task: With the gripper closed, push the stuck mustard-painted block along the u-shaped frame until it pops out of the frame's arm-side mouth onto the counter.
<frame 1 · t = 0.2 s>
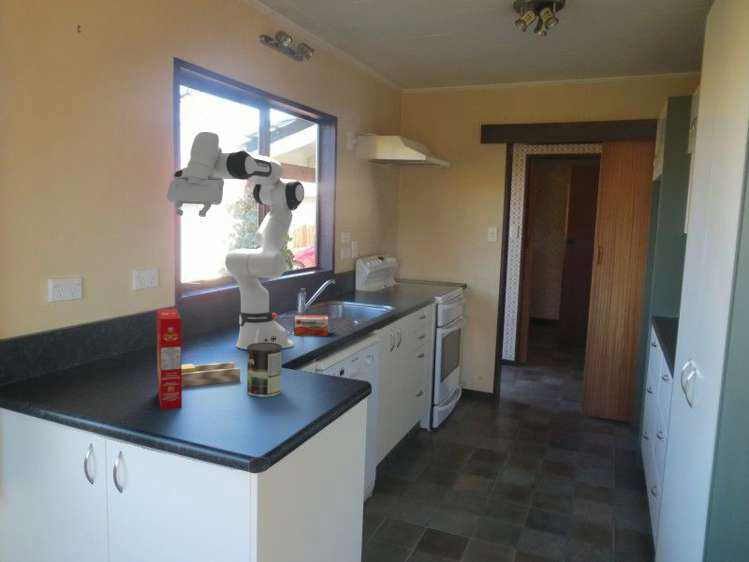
hand: (190, 215, 188), 52 cm above the worktop, tool tilted 20°, fingers open, 8 cm apart
block: (185, 374, 179), point 3 cm above the worktop, slide at 0.0 cm
coffee can: (264, 392, 172), on the worktop
medicine box: (311, 334, 256), on the worktop
u-shaped frame: (205, 380, 182), on the worktop
food packaging: (169, 401, 162), on the worktop
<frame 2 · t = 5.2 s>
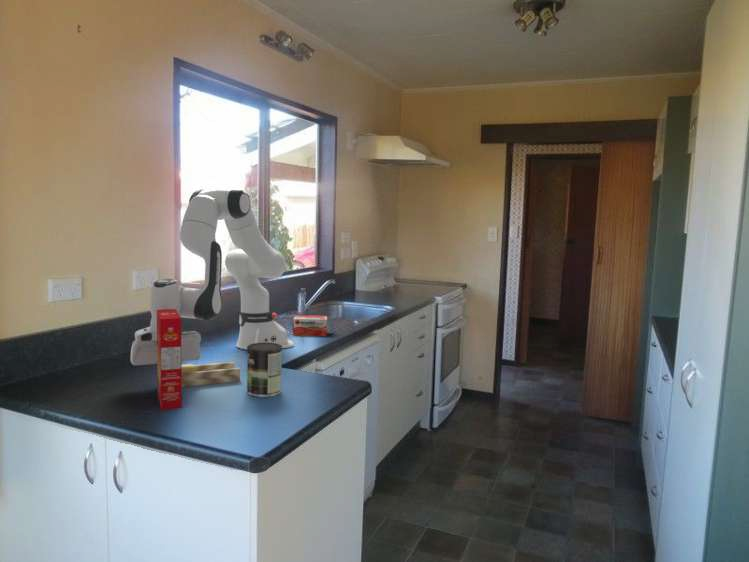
hand: (166, 376, 176), 3 cm above the worktop, tool pointing down, fingers closed
nothing on the worktop moved.
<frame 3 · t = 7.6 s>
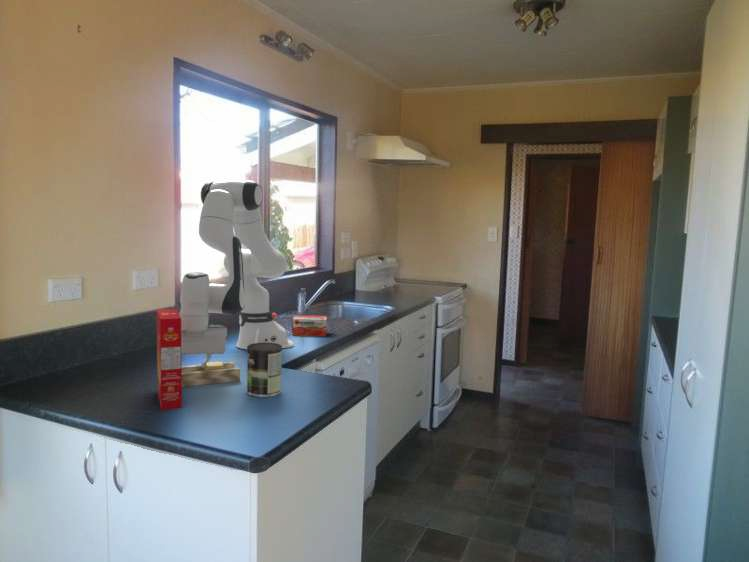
hand: (191, 368, 179), 5 cm above the worktop, tool pointing down, fingers open, 6 cm apart
block: (213, 371, 183), point 3 cm above the worktop, slide at 8.8 cm, touching gripper
everything else where it was.
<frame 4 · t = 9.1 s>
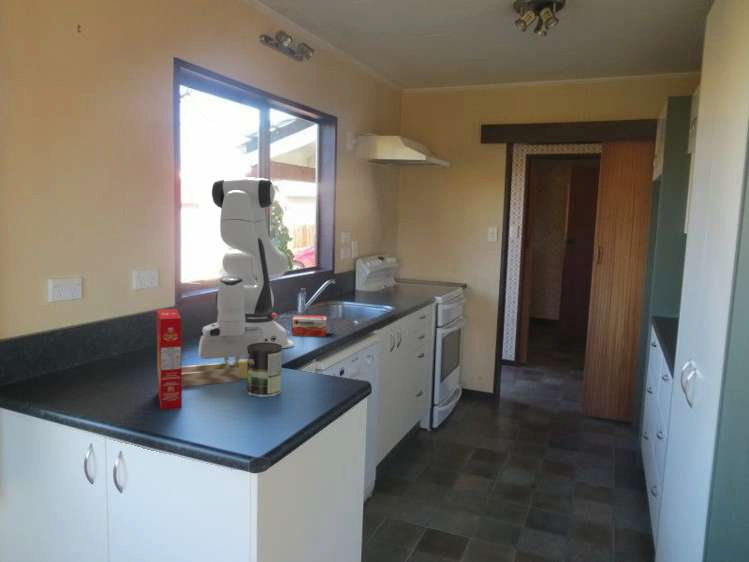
hand: (231, 369, 185), 3 cm above the worktop, tool pointing down, fingers closed
block: (244, 368, 187), point 3 cm above the worktop, slide at 18.6 cm, touching gripper
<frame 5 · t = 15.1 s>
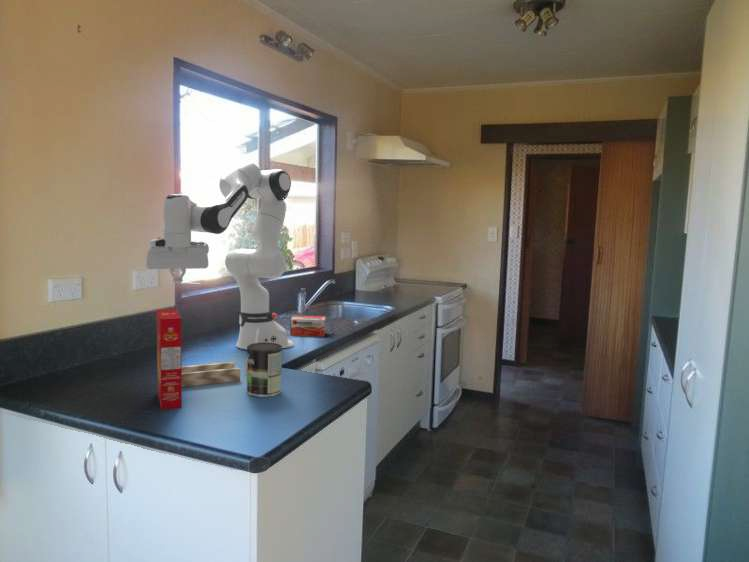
hand: (177, 281, 195), 29 cm above the worktop, tool pointing down, fingers closed
block: (255, 367, 189), point 3 cm above the worktop, slide at 22.3 cm
at the end: block slide at 22.3 cm; the gripper is holding nothing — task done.
